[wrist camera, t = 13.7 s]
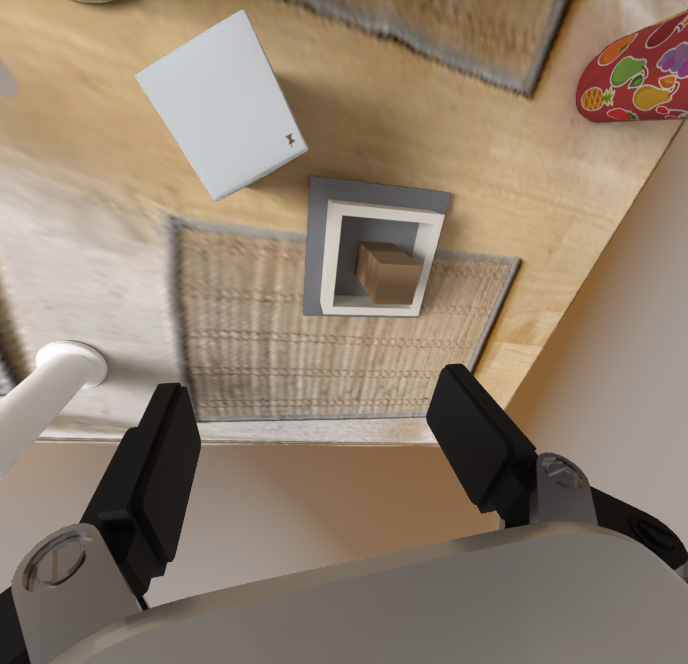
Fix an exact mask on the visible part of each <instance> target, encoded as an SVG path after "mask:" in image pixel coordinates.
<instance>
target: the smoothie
mask: <svg viewBox="0 0 688 664" xmlns="http://www.w3.org/2000/svg"><path fill="white" fill-rule="evenodd" d="M576 105H577V108H578V110H579V113H581V114H582V115H583V116H584V117H587V118H588V119H589V120H590V121H592V122H597V123H604V122H630V121H655V120H681V119H688V10H685V11H683V12H681V13H678V14H676V15H674V16H671V17H669V18H667V19H665V20H662V21H660V22H658V23H655V24H653V25H651V26H648V27H646V28H644V29H642V30H639V31H637V32H635V33H632V34H630V35H628V36H625V37H623V38H621V39H618V40H616V41H615V42H613V43H611V44H610V45H608V46H607V47H606V48H605V49H604V50H603V51H602V52H601V53H600V54H599V55H598V56H596V57H595V58H594V59H593V60H592V61H591V63H590V64H589V65H588V66H587V68H586V69H585V71H584V73H583V74H582V76H581V79H580V81H579V84H578V87H577V93H576Z"/></svg>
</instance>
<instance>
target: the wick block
mask: <svg viewBox="0 0 688 664" xmlns="http://www.w3.org/2000/svg"><path fill="white" fill-rule="evenodd" d="M420 270H421V265H420V264H418V263H417V262H416V261H414V260H413V259H412V258H410V257H409V256H408V255H406V254H405V253H404V252H402V251H401V250H400V249H398V248H397V247H396V246H395V245H393V244H392V243H387V242H372V241H358V249H357V257H356V265H355V273H354V274H355V275H356V277H357V278H358V280H359V282H360V283H361V285H362V286H363V288H364V289H365V291H366V292H367V294H368V295H369V297H370V299H371V300H372V302H373V303H374V304H397V305H412V303H413V299H414V295H415V291H416V287H417V282H418V278H419V274H420Z"/></svg>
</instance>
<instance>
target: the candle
mask: <svg viewBox="0 0 688 664" xmlns="http://www.w3.org/2000/svg"><path fill="white" fill-rule="evenodd" d="M36 365H37V368H38V369H36V370H35V371H34V372H33V373H32V374H31V375H29V376H28V377H27V378H26V379H25V380H24V381H22V382H21V383H20V384H19V385H18V386H17V387H15V388H14V389H13V390H12V391H11V392H9V393H8V394H7V395H6V396H5V397H4V398H2V399H1V400H0V479H2V477H3V476H4V475H5V474H6V473H7V472H8V471H9V469H10V468H11V467H12V466H13V465H14V464H15V463H16V462H17V460H18V459H19V458H20V457H21V456H22V455H23V453H24V452H25V451H26V450H27V449H28V448H29V446H31V444H32V443H33V442H34V441H35V440H36V439H37V438H38V436H39V435H40V434H41V433H42V432H43V431H44V430H45V429H46V427H47V426H48V425H49V424H50V423H51V422H52V421H53V419H54V418H55V417H56V416H57V415H58V414H59V413H60V411H61V410H62V409H63V408H64V407H65V406H66V405H67V403H68V402H69V401H70V400H71V399H72V398H73V397H74V396H75V394H76V393H77V392H78V391H79V390H80V389H87V388H91V387H94V386H96V385H98V384H100V383H101V382H102V381H103V380H104V378H105V377H106V375H107V372H108V367H107V363H106V361H105V359H104V358H103V357H102V355H101V354H100V353H98V352H97V351H96V350H95V349H93V348H91V347H89V346H87V345H85V344H82V343H79V342H75V341H55V342H52V343H49V344H47V345H45V346H44V347H43V348H41V349H40V350H39V352H38V353H37V355H36Z"/></svg>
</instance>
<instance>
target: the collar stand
mask: <svg viewBox="0 0 688 664" xmlns="http://www.w3.org/2000/svg"><path fill="white" fill-rule="evenodd" d="M450 195H451V193H448V192H441V191H433V190H425V189H416V188H408V187H400V186H392V185H384V184H376V183H367V182H359V181H351V180H343V179H335V178H327V177H319V176H310V181H309V201H308V221H307V241H306V261H305V281H304V301H303V315H304V316H347V317H398V318H418V316H419V312H420V308H421V304H422V301H423V297H424V293H425V289H426V286H427V282H428V278H429V274H430V271H431V267H432V263H433V259H434V256H435V252H436V248H437V244H438V241H439V237H440V233H441V229H442V225H443V222H444V218H445V214H446V210H447V207H448V203H449V199H450ZM358 241H372V242H387V243H392V244H393V245H395V246H396V247H397V248H398V249H400V250H401V251H402V252H404V253H405V254H406V255H408V256H409V257H410V258H412V259H413V260H414V261H416V262H417V263H418V264H420V265H421V270H420V274H419V278H418V282H417V287H416V291H415V295H414V299H413V303H412V305H397V304H374V303H373V302H372V300H371V299H370V297H369V295H368V294H367V292H366V291H365V289H364V288H363V286H362V285H361V283H360V282H359V280H358V278H357V277H356V275H355V274H354V273H355V265H356V257H357V249H358Z"/></svg>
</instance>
